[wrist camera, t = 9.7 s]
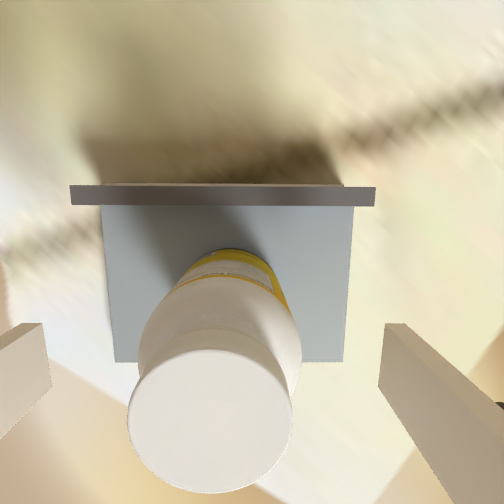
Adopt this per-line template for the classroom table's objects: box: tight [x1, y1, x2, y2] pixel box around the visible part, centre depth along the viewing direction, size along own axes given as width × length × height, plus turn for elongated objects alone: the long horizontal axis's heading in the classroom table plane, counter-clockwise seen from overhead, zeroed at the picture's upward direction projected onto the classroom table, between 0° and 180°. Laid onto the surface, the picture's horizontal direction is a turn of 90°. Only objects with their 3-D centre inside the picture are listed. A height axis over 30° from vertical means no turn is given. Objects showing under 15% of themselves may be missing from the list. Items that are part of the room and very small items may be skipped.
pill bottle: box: [127, 248, 302, 494], centre depth 14 cm, size 6×6×12 cm
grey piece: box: [70, 183, 376, 362], centre depth 19 cm, size 12×16×5 cm
